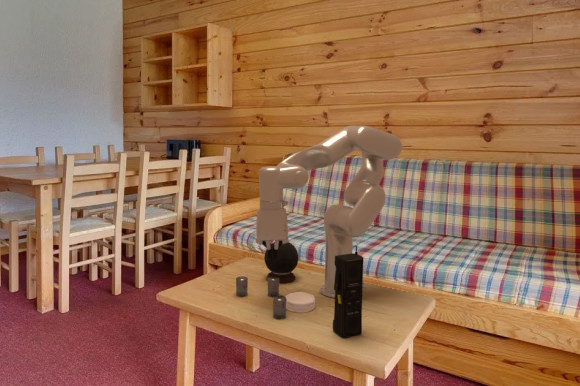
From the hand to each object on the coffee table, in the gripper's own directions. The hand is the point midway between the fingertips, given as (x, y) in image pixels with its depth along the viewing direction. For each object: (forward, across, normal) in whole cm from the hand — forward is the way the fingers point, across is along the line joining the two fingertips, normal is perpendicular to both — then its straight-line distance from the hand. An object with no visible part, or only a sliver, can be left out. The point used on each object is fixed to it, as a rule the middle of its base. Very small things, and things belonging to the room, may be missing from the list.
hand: (272, 260), depth 146 cm
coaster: (+16, -9, +2) cm, 18 cm away
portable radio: (+16, -21, +21) cm, 33 cm away
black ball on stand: (+16, -3, -25) cm, 30 cm away
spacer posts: (+15, +5, +1) cm, 16 cm away
